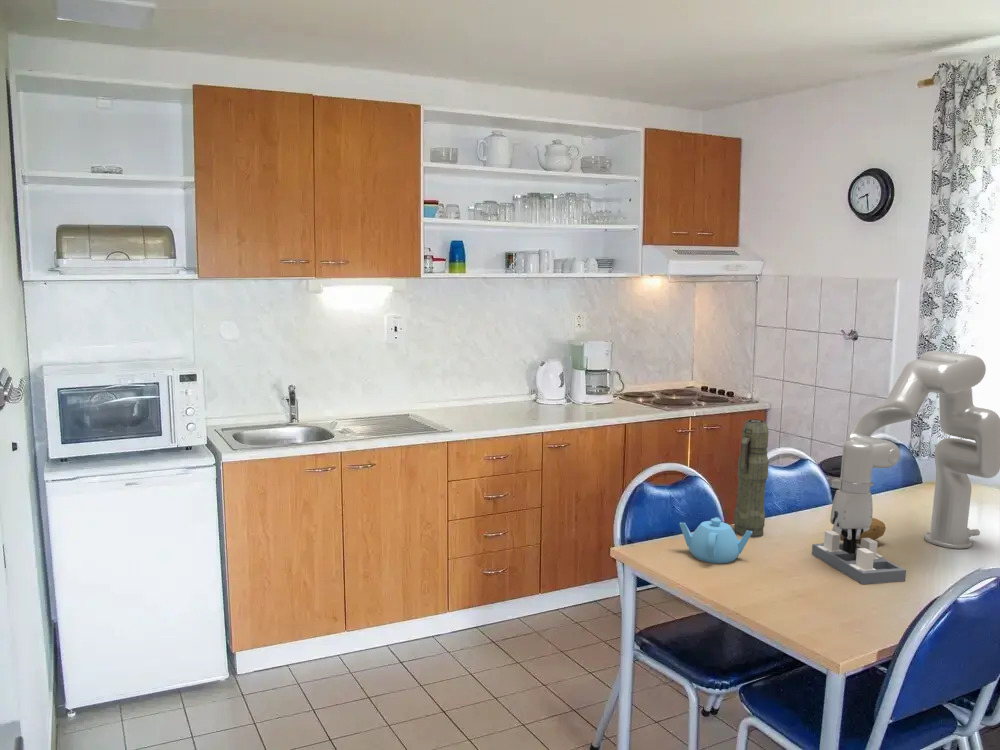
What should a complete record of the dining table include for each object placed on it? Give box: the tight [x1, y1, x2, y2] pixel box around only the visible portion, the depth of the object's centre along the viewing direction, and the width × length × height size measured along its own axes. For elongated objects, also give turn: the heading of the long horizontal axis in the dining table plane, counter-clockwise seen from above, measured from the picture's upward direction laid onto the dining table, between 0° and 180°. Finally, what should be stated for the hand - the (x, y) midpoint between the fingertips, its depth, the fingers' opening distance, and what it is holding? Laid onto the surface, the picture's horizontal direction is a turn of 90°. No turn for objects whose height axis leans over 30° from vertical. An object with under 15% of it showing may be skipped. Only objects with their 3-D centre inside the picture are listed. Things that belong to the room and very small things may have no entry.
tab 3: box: [853, 548, 876, 571], centre depth 215 cm, size 4×4×6 cm
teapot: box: [679, 516, 753, 564], centre depth 229 cm, size 15×15×11 cm
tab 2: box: [856, 538, 880, 559], centre depth 224 cm, size 4×4×6 cm
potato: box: [846, 517, 886, 543], centre depth 245 cm, size 10×14×8 cm
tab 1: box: [822, 530, 842, 552], centre depth 229 cm, size 4×4×6 cm
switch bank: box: [811, 541, 907, 585], centre depth 223 cm, size 13×22×3 cm, turn 13°
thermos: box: [733, 418, 770, 538], centre depth 247 cm, size 9×12×35 cm
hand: (849, 551), depth 222 cm, fingers closed
